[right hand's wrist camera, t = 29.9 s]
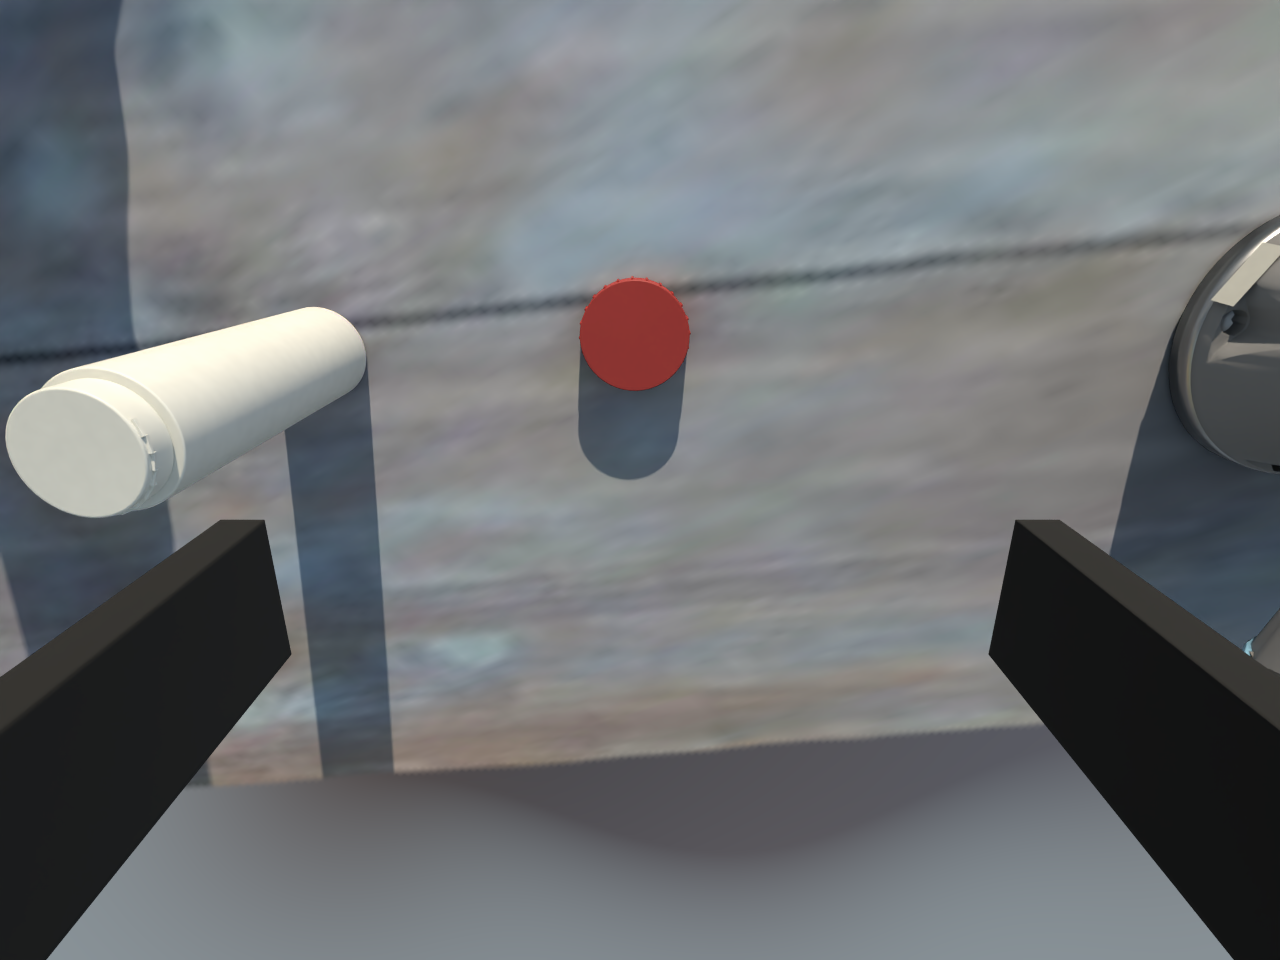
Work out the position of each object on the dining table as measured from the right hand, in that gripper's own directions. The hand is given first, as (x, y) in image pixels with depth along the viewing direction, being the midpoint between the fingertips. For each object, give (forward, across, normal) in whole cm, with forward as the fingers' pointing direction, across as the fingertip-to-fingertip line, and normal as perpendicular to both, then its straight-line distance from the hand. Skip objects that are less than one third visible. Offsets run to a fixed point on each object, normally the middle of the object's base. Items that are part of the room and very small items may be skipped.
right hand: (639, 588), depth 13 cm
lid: (+28, 0, 0) cm, 29 cm away
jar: (+30, +19, +1) cm, 35 cm away
